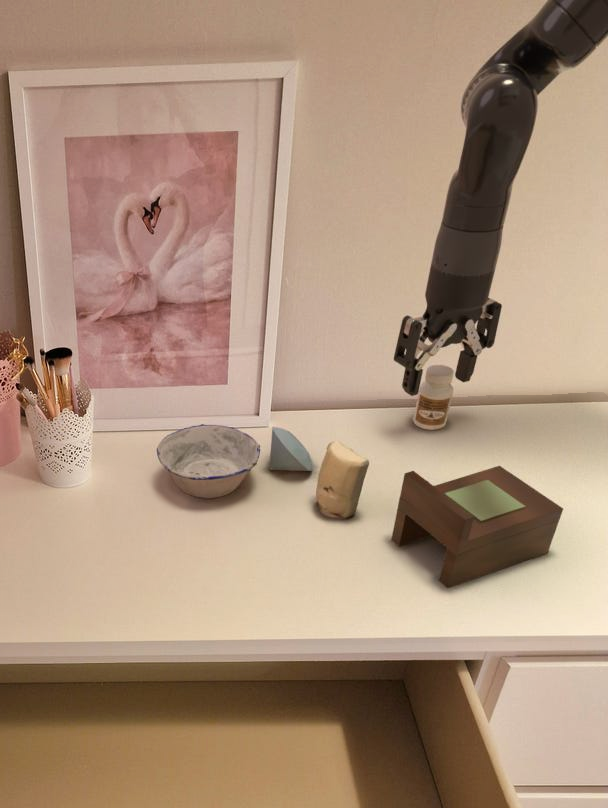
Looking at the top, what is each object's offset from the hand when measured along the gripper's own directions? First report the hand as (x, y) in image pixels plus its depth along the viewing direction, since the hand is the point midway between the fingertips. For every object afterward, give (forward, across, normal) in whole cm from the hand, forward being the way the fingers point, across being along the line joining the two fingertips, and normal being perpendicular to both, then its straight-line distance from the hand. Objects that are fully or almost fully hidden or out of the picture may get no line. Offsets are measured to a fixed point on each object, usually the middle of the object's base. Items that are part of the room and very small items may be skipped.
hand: (436, 386), depth 117 cm
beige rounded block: (+6, -23, -12) cm, 26 cm away
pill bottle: (+6, 0, 0) cm, 6 cm away
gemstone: (+6, -23, -1) cm, 23 cm away
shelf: (+6, -14, -25) cm, 29 cm away
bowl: (+6, -34, +1) cm, 34 cm away
